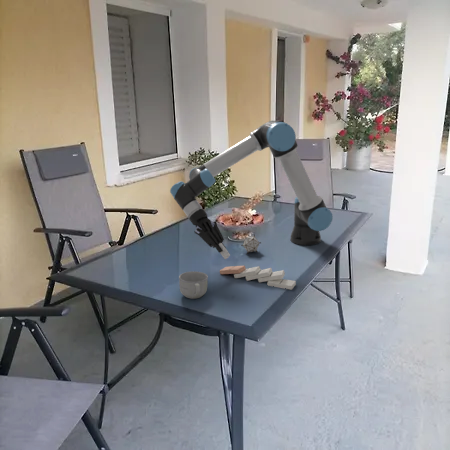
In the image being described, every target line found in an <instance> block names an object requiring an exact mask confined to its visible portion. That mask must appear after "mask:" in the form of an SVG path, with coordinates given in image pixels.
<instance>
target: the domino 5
mask: <svg viewBox="0 0 450 450" xmlns="http://www.w3.org/2000/svg"><path fill="white" fill-rule="evenodd" d="M266 282H267V285H268V287H273V286H274V288H281V289H285V288H286V289H285V290H291V291H292V290H293V289H294V287H295V286H296V285H297V284H296V283H297V281H296V280H291V279H285V278H282V279H276V280H270V281H266Z"/></svg>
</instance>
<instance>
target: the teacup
mask: <svg viewBox="0 0 450 450" xmlns="http://www.w3.org/2000/svg"><path fill="white" fill-rule="evenodd" d="M208 278H209V276H208V274H207V273H205V272H202V271H195V270H194V271H186V272H183V273H181V274H179V276H178V281H179V291H180V293H181V294H182V295H183V296H184V297H186V298H187V299H191V300H194V299H199V298H202V297H203V296H204V295H206V293H207V290H208V285H209V284H208Z"/></svg>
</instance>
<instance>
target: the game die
mask: <svg viewBox="0 0 450 450" xmlns="http://www.w3.org/2000/svg"><path fill="white" fill-rule="evenodd" d="M260 244H262V242H261V241H260V242H259V240H258V239H257V238H256V235H255V234H254V235H252V236H246V235H245V236H244V241H243V244H241V245H240V247H243V248H244V250H245V251H246V253H247V254H249V253H253V252H256V253H258V248H259V246H260Z"/></svg>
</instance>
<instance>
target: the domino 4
mask: <svg viewBox="0 0 450 450" xmlns="http://www.w3.org/2000/svg"><path fill="white" fill-rule="evenodd" d="M285 275H286V272H285V269H282V270H278V271H272V273H271V274H270V276H266V277H262V278H257V281H258V283H263V282H268V281H270V280H276V279H284V277H285Z"/></svg>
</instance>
